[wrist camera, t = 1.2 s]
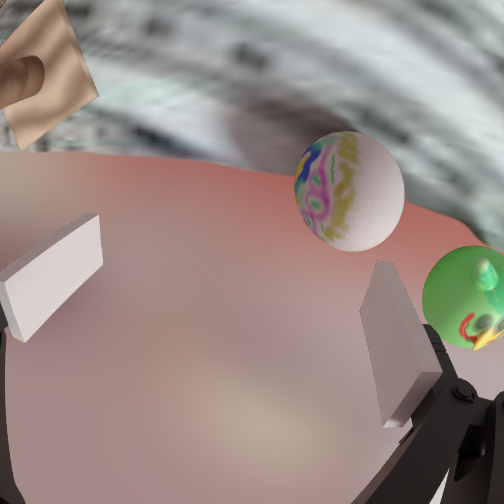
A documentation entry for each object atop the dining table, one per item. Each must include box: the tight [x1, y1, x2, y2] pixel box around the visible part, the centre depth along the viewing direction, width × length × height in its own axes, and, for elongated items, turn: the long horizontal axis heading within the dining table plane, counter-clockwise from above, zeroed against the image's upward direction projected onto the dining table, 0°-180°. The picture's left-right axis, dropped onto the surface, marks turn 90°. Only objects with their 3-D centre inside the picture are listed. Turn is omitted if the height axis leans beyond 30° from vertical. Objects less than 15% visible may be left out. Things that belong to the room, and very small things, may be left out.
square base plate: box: [0, 0, 99, 151], centre depth 30 cm, size 20×20×10 cm
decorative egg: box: [294, 131, 404, 251], centre depth 32 cm, size 12×12×15 cm
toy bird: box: [422, 246, 504, 351], centre depth 37 cm, size 18×17×15 cm
